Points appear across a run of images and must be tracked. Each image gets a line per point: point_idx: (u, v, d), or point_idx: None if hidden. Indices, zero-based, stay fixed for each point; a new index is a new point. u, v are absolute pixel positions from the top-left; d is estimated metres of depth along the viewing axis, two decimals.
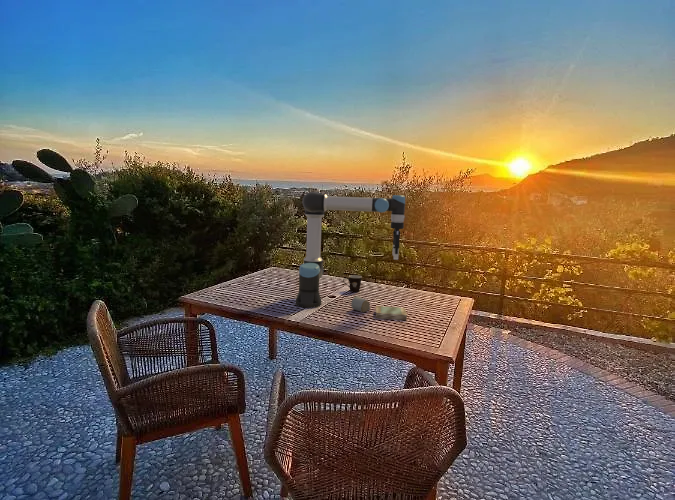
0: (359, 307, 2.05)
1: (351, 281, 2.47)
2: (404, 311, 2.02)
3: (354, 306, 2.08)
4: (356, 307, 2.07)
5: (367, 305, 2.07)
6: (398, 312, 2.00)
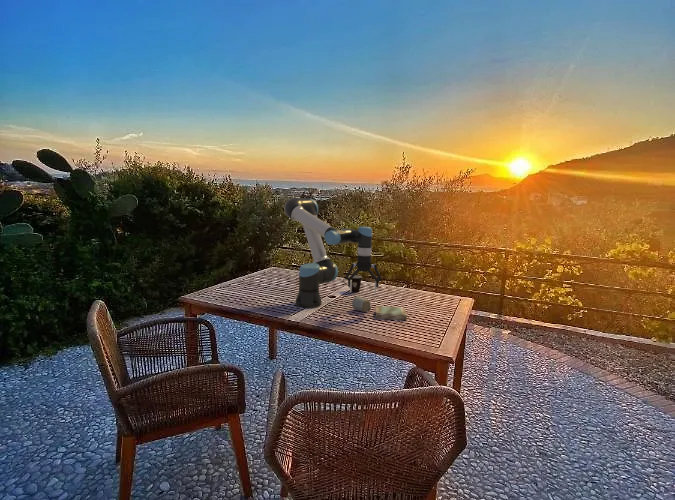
0: (360, 307, 2.06)
1: None
2: (404, 311, 2.02)
3: (355, 306, 2.09)
4: (357, 307, 2.08)
5: (368, 305, 2.08)
6: (398, 312, 2.00)
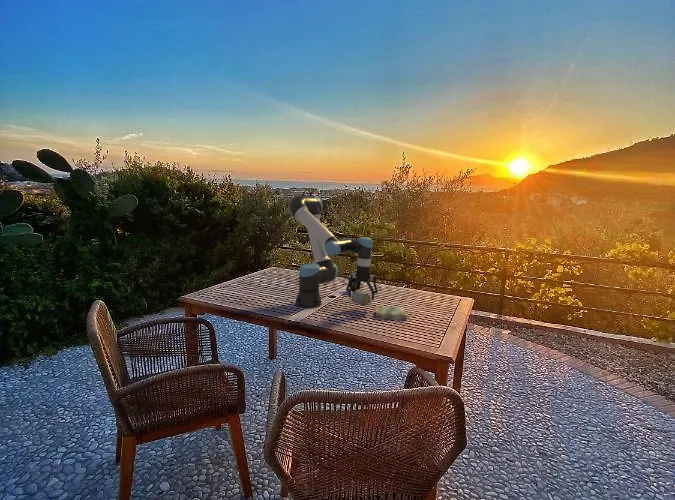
0: (360, 300, 2.06)
1: (351, 281, 2.47)
2: (404, 311, 2.02)
3: (355, 299, 2.09)
4: (357, 300, 2.08)
5: (368, 299, 2.08)
6: (398, 312, 2.00)
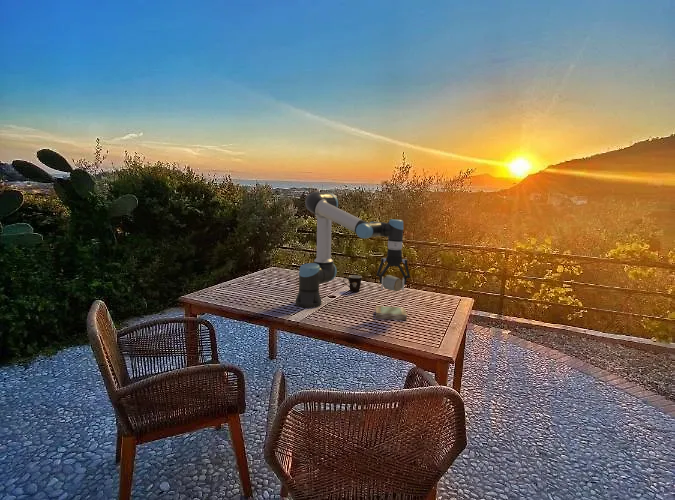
0: (392, 285, 1.97)
1: (351, 281, 2.47)
2: (404, 311, 2.02)
3: (386, 285, 1.99)
4: (388, 286, 1.99)
5: (400, 284, 1.99)
6: (398, 312, 2.00)
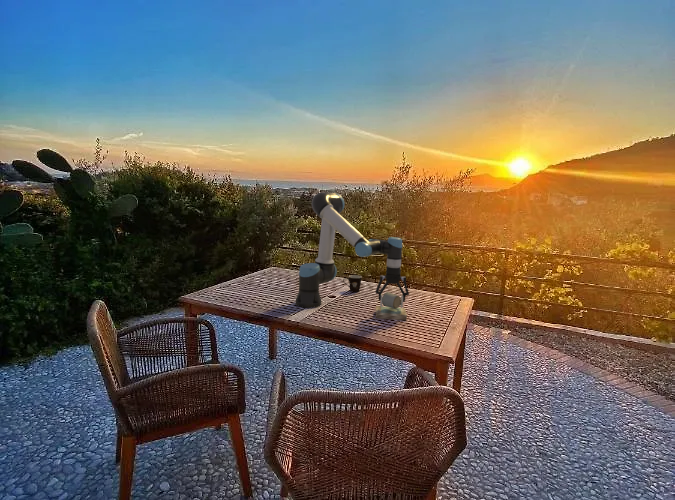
0: (391, 303, 1.98)
1: (351, 281, 2.47)
2: (404, 311, 2.02)
3: (385, 302, 2.01)
4: (387, 303, 2.00)
5: (399, 301, 2.00)
6: (398, 312, 2.00)
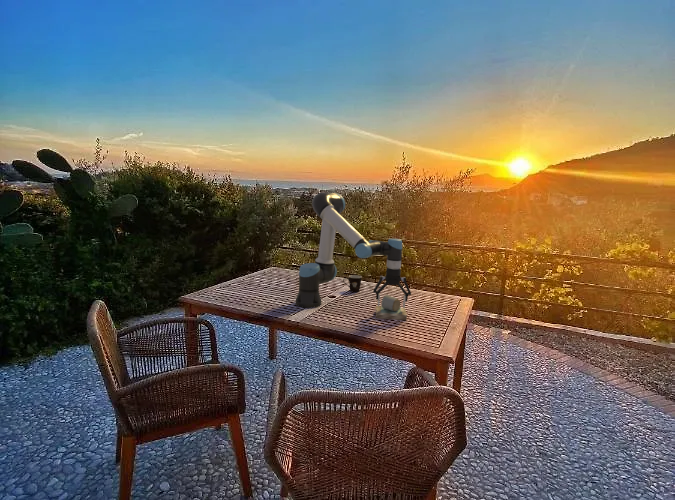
0: (390, 306, 1.99)
1: (351, 281, 2.47)
2: (404, 311, 2.02)
3: (384, 305, 2.01)
4: (387, 306, 2.00)
5: (398, 304, 2.01)
6: (398, 312, 2.00)
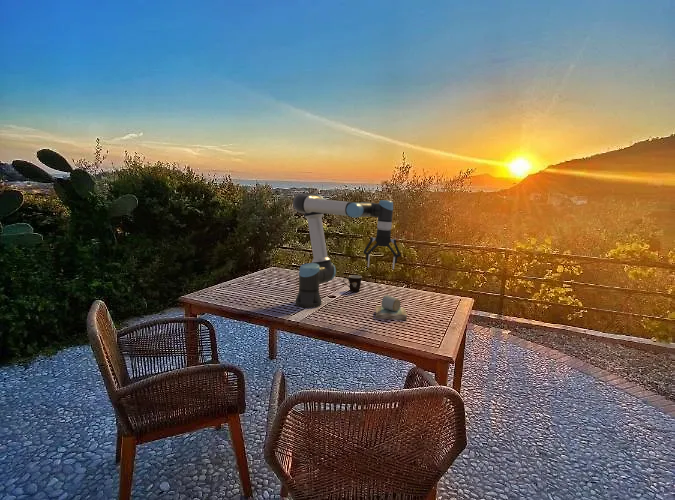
0: (390, 306, 1.99)
1: (351, 281, 2.47)
2: (404, 311, 2.02)
3: (385, 305, 2.01)
4: (387, 306, 2.00)
5: (398, 304, 2.01)
6: (398, 312, 2.00)
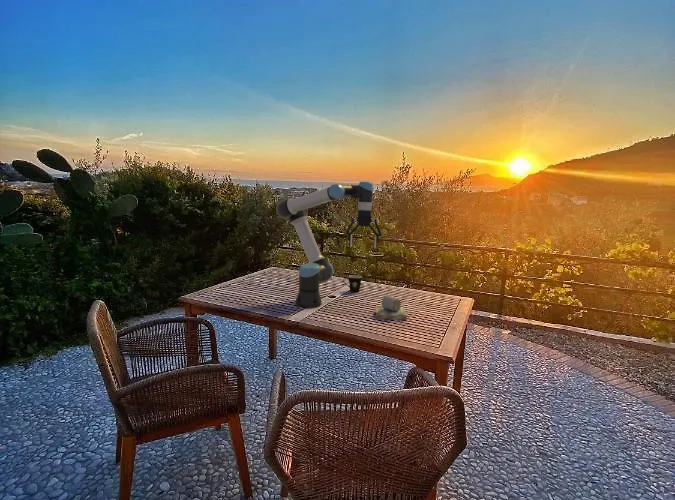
0: (390, 306, 1.99)
1: (351, 281, 2.47)
2: (404, 311, 2.02)
3: (385, 305, 2.01)
4: (387, 306, 2.01)
5: (398, 304, 2.01)
6: (398, 312, 2.00)
